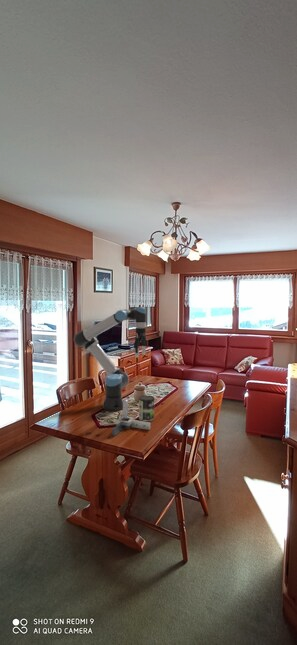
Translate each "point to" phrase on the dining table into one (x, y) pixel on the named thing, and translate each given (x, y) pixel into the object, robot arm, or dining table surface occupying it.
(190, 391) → the dining table surface
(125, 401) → the pin
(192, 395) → the dining table surface
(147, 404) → the coffee can
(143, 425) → the grey flat branched piece
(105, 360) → the robot arm
